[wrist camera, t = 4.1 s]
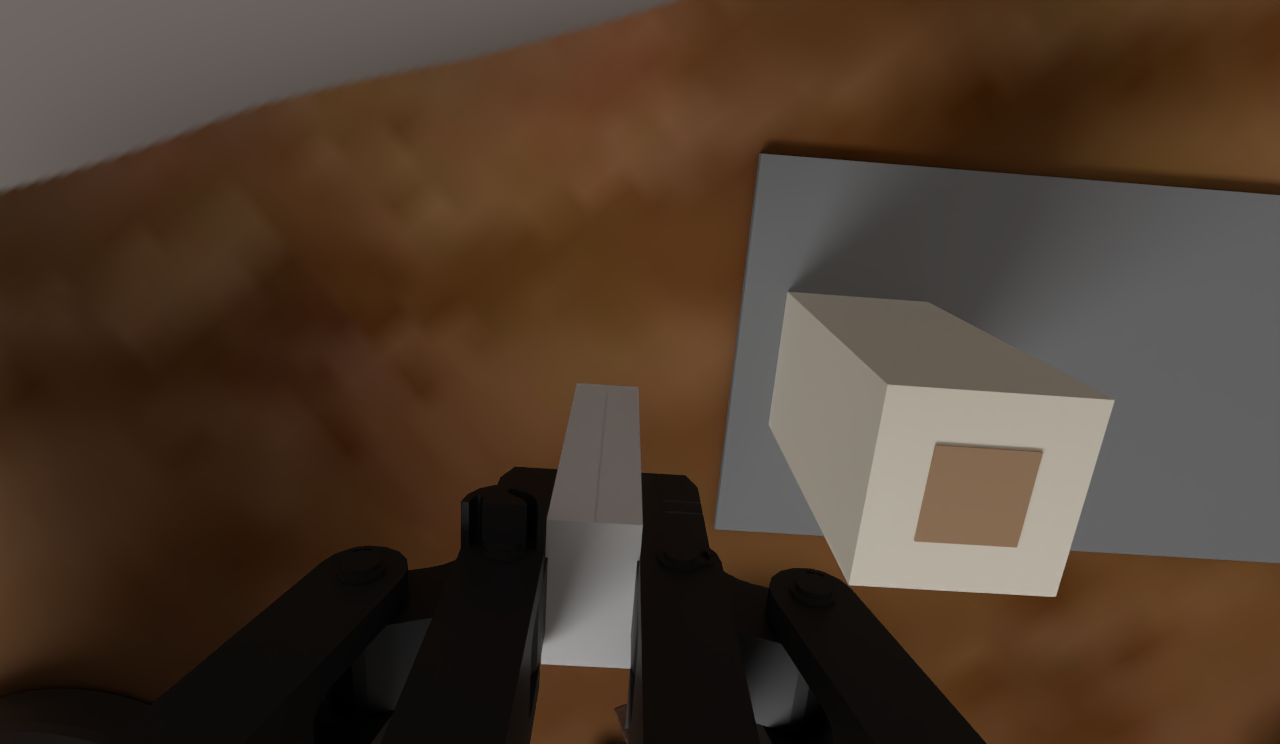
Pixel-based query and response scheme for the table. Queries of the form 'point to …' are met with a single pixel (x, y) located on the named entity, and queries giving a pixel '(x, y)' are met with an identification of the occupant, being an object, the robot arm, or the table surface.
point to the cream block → (932, 446)
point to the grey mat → (1044, 330)
